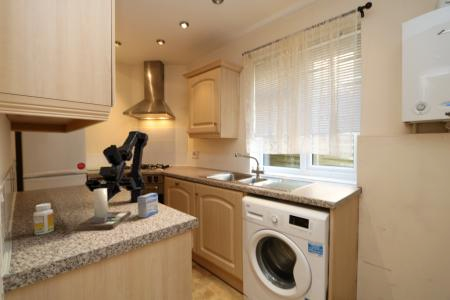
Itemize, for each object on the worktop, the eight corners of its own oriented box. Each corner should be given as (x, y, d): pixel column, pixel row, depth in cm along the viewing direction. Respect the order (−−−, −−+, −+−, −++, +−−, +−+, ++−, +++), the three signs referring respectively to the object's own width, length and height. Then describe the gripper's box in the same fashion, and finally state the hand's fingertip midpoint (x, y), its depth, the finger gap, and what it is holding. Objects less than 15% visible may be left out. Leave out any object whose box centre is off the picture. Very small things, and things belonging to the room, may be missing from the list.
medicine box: (146, 218, 88) (145, 197, 87) (137, 217, 89) (137, 196, 89) (158, 212, 95) (157, 193, 95) (150, 211, 96) (149, 192, 96)
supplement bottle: (52, 227, 80) (50, 201, 79) (55, 231, 76) (54, 204, 76) (32, 232, 75) (31, 205, 75) (36, 236, 72) (34, 207, 72)
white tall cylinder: (98, 218, 84) (97, 188, 83) (118, 217, 84) (117, 187, 84) (90, 223, 79) (89, 190, 78) (112, 222, 79) (111, 190, 79)
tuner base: (100, 215, 92) (100, 211, 92) (130, 214, 93) (130, 210, 93) (75, 230, 76) (75, 225, 76) (112, 229, 77) (112, 224, 77)
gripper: (86, 159, 88) (69, 191, 77) (132, 158, 89) (121, 190, 78) (98, 176, 96) (83, 207, 85) (139, 174, 97) (130, 205, 86)
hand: (104, 202), depth 84 cm, fingers closed, pressing on white tall cylinder
